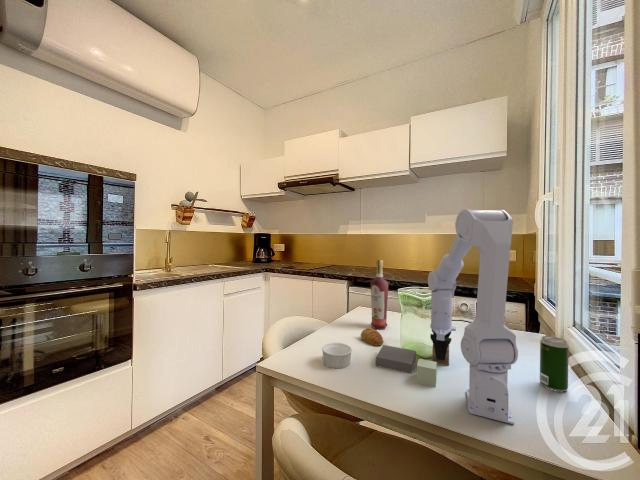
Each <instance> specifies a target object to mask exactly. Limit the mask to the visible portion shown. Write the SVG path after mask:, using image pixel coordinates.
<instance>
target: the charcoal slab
mask: <svg viewBox="0 0 640 480" xmlns="http://www.w3.org/2000/svg"><path fill="white" fill-rule="evenodd" d="M416 353H417V351H416V350H414V349H410V348H409V349H408V348H402V347H396V346H392V345H386V344H382V346H381V347H380V350H379V351H378V353H377V354H376V356H375V367H380V368H383V369H388V370H393V371H398V372H403V373H407V374H413V371H414V367H415V363H416V360H417V359H416V357H417V354H416Z"/></svg>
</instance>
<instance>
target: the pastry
mask: <svg viewBox="0 0 640 480" xmlns="http://www.w3.org/2000/svg"><path fill="white" fill-rule="evenodd" d="M360 337H361V340H363V342H365V343H367V344H368V345H370V346H375V347H377V346H381V345H382V346H383V345H384V338H383V336H382V335H381V333H380V332H379V331H378V330H377V329H373V328H370V327H367V328H364V329H363V330H362V331H361V333H360Z"/></svg>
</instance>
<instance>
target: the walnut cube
mask: <svg viewBox="0 0 640 480" xmlns="http://www.w3.org/2000/svg"><path fill="white" fill-rule="evenodd" d="M431 356H432V358H431V359H432V360H431V361H434V362H437V365H438V364H439V365H442V366H443V365H444V366H450V345H449V346H448V348H447V352H446V357H445V360H444V361H443V360H438V359H437V358H436V354H435V348H434V344H433V343H432V354H431Z"/></svg>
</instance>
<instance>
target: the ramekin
mask: <svg viewBox="0 0 640 480" xmlns="http://www.w3.org/2000/svg"><path fill="white" fill-rule="evenodd" d="M321 350H322V360H323V363H324V365H325V366H327V367H329V368H331V369H345V368H346V367H348V366H350V363H351V356H352V351H353V349H352V347H351V345H348V344H346V343H342V342H329V343H326V344H324V345H323V346H322V347H321Z"/></svg>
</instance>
